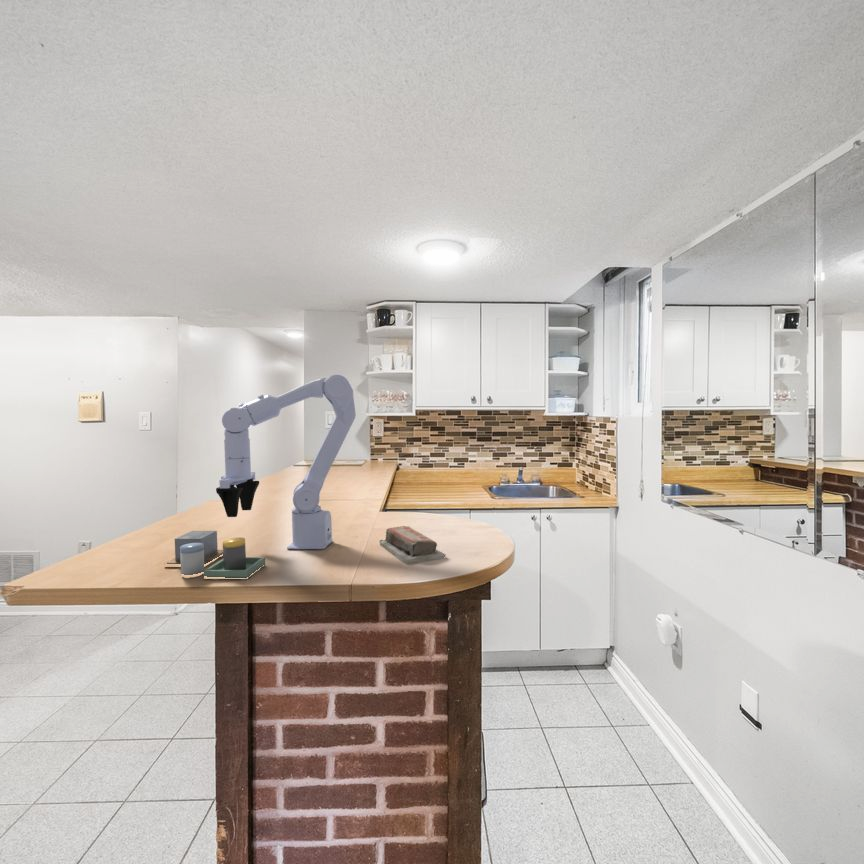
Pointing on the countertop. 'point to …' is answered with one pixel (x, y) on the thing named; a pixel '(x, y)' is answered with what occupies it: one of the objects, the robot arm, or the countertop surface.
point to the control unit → (198, 537)
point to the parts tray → (219, 571)
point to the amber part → (234, 554)
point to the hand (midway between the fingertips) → (239, 513)
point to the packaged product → (410, 545)
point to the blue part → (192, 558)
